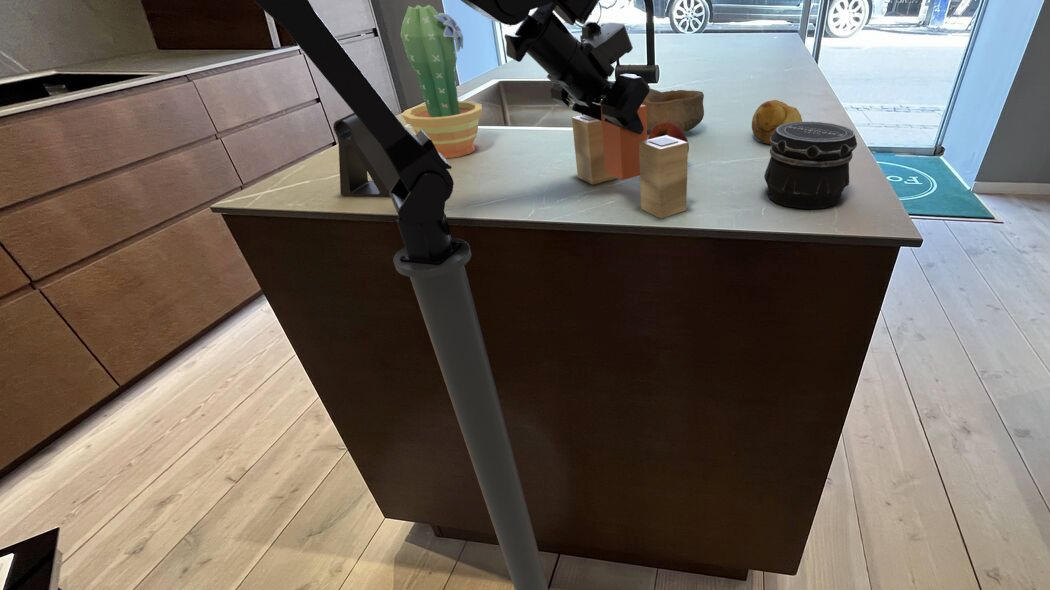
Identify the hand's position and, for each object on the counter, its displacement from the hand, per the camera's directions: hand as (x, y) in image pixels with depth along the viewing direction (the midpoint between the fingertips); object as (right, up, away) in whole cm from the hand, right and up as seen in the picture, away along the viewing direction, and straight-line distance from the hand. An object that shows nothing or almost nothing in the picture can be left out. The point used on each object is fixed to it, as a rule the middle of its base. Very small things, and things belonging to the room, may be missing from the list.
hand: (631, 128), depth 81 cm
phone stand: (-45, -7, +10) cm, 46 cm away
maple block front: (+5, -13, -1) cm, 14 cm away
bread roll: (+29, +10, +28) cm, 41 cm away
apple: (+6, -1, +15) cm, 16 cm away
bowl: (+6, +14, +34) cm, 38 cm away
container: (+27, -10, +2) cm, 29 cm away
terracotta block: (-1, -6, +3) cm, 7 cm away
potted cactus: (-37, +7, +27) cm, 47 cm away
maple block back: (-6, -4, +12) cm, 14 cm away
